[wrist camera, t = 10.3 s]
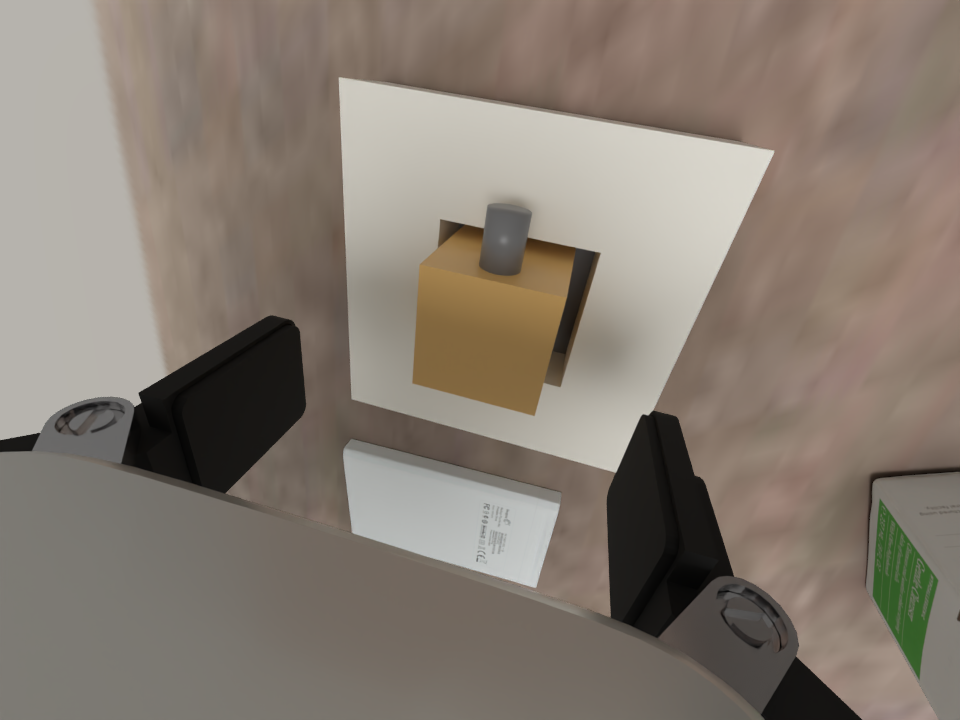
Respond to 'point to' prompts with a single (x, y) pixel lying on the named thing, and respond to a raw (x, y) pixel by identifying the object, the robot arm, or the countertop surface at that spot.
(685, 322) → the socket
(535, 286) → the plug
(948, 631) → the skincare box
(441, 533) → the external hard drive
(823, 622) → the countertop surface
